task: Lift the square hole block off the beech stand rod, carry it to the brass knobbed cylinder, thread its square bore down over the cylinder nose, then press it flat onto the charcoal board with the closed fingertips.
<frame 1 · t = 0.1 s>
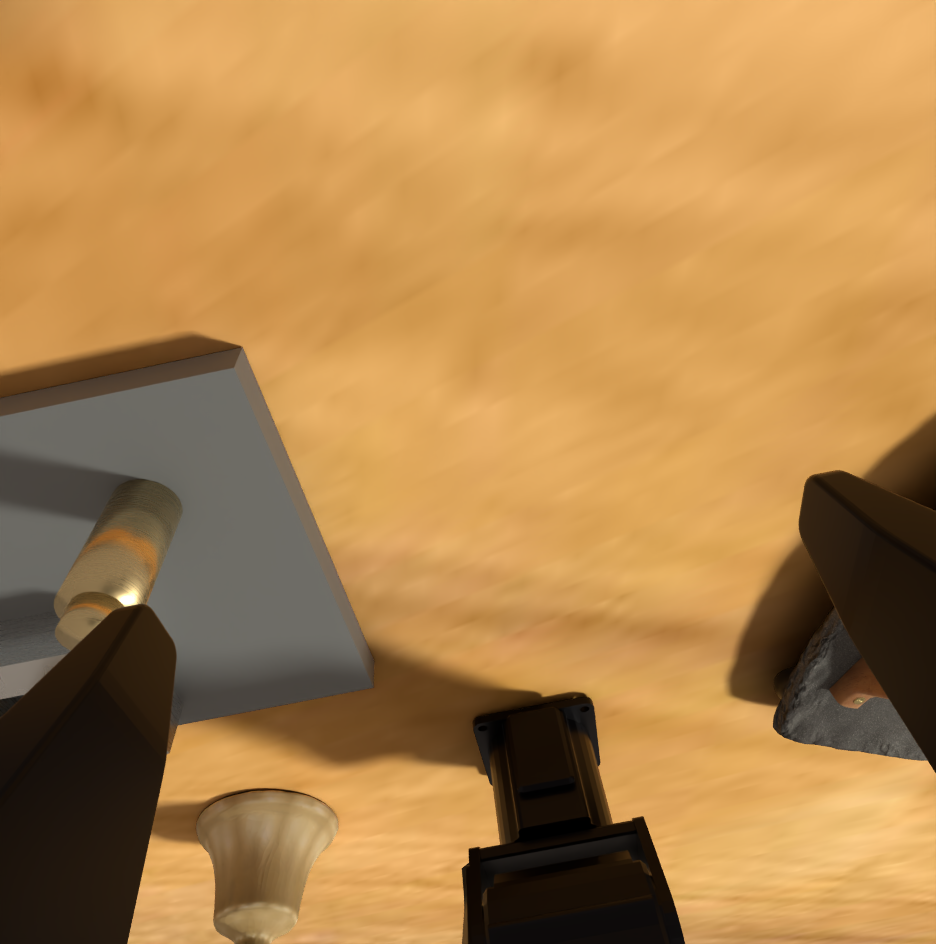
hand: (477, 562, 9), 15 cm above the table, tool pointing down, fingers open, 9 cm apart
square hole block: (70, 670, 29), point 1 cm above the table, touching board
brass knobbed cylinder: (159, 481, 25), resting on board
hand bell: (269, 821, 41), on the table
board: (120, 573, 28), on the table
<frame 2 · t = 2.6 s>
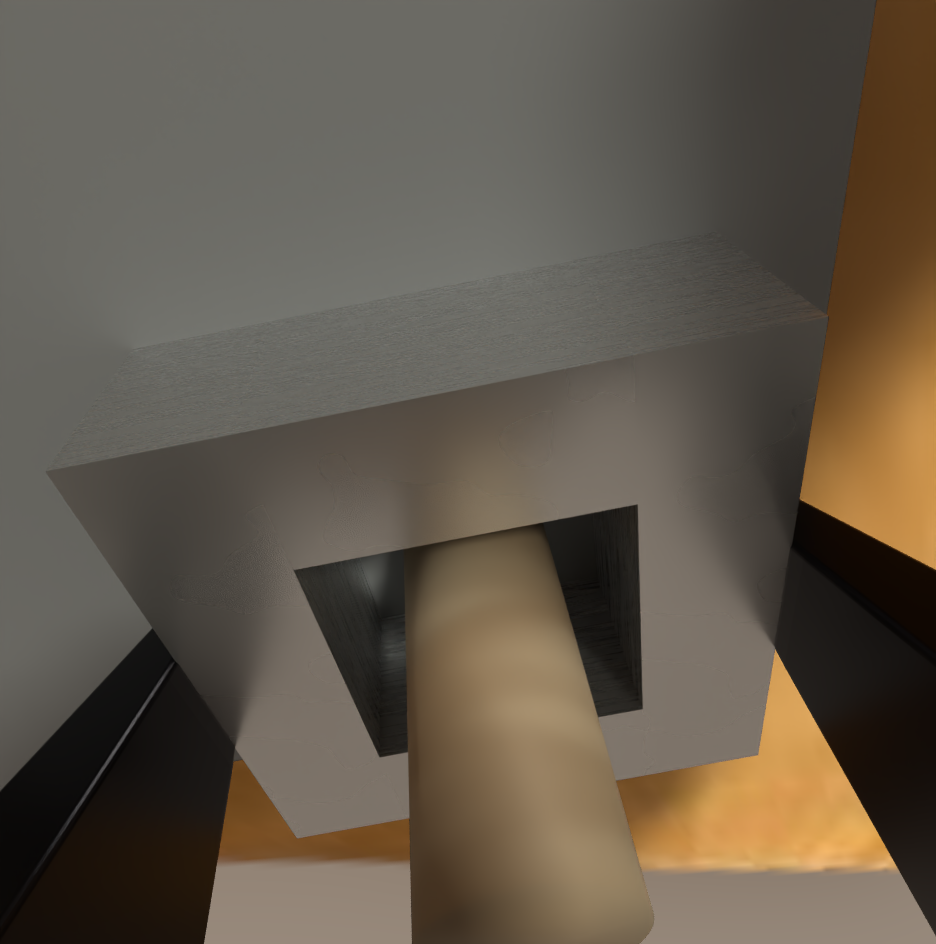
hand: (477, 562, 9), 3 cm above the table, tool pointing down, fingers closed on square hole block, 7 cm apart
square hole block: (470, 514, 10), point 1 cm above the table, touching board, gripper
stand rod: (461, 457, 11), resting on board
board: (167, 301, 9), on the table
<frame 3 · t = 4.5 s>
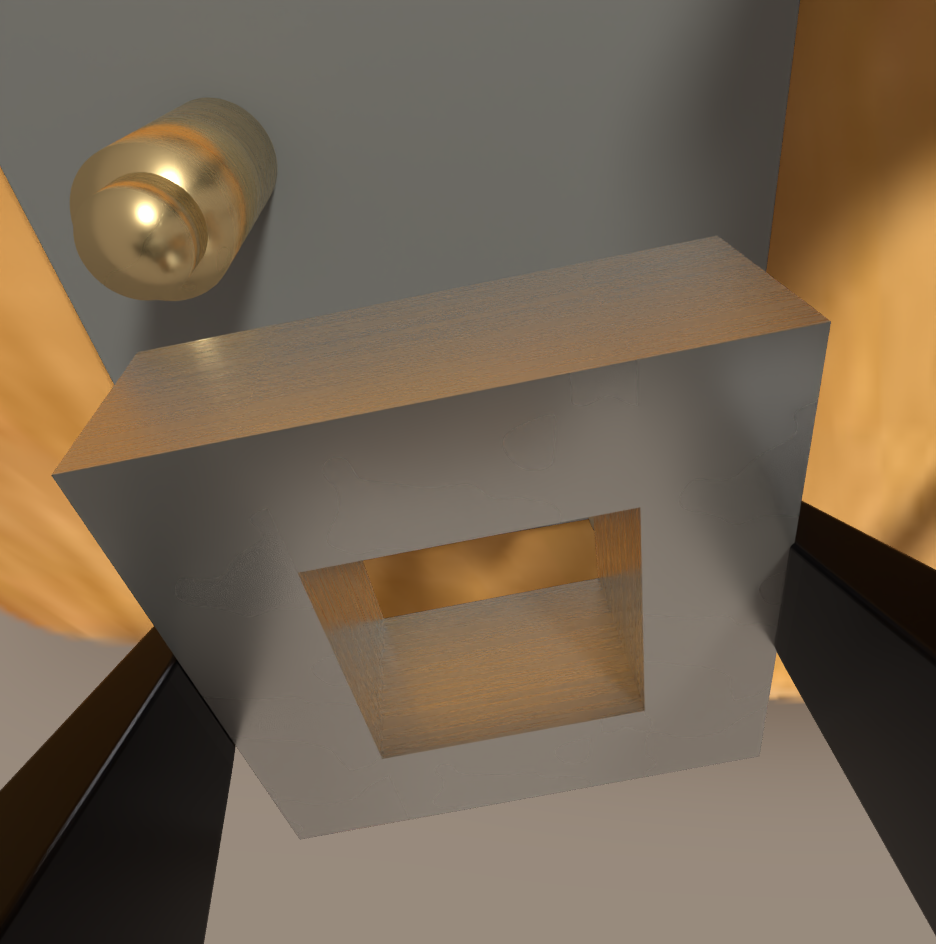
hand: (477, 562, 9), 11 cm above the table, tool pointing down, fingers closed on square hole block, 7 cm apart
square hole block: (472, 516, 10), point 10 cm above the table, touching gripper
brass knobbed cylinder: (233, 147, 16), resting on board
board: (428, 264, 18), on the table
when the fingers open (4 cm above the table, at t = 6.6 s): square hole block drops 2 cm, resting on board.
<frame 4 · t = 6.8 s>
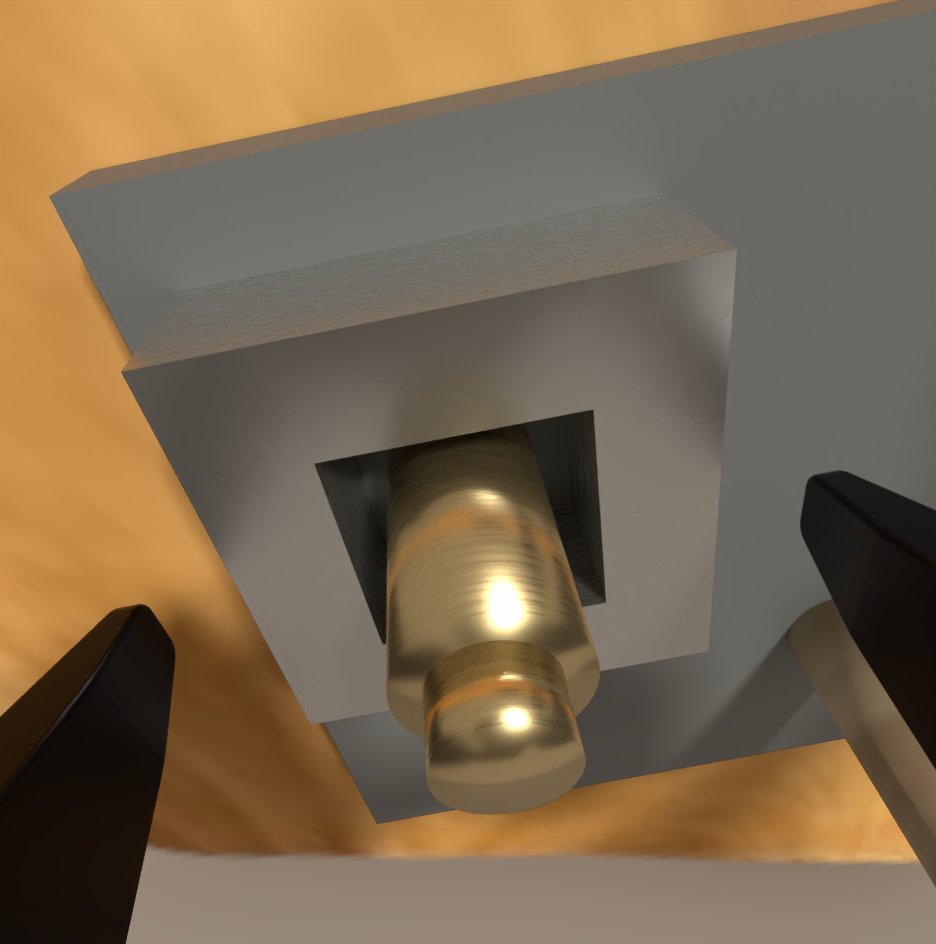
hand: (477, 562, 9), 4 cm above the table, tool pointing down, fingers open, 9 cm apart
square hole block: (460, 444, 12), point 1 cm above the table, touching board
brass knobbed cylinder: (451, 400, 13), resting on board
stand rod: (798, 581, 17), resting on board
board: (659, 500, 15), on the table
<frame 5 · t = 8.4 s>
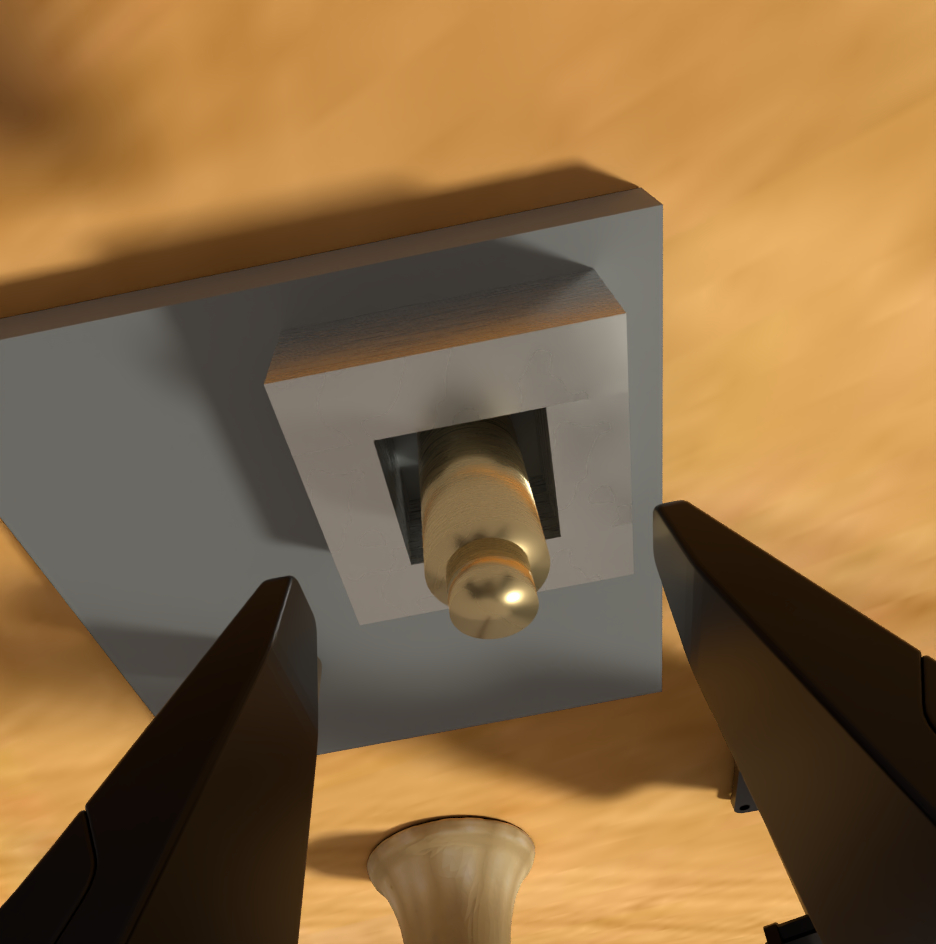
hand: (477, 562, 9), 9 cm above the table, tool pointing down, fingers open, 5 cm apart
square hole block: (463, 431, 17), point 1 cm above the table, touching board
brass knobbed cylinder: (459, 399, 18), resting on board
hand bell: (451, 853, 33), on the table
board: (370, 534, 20), on the table
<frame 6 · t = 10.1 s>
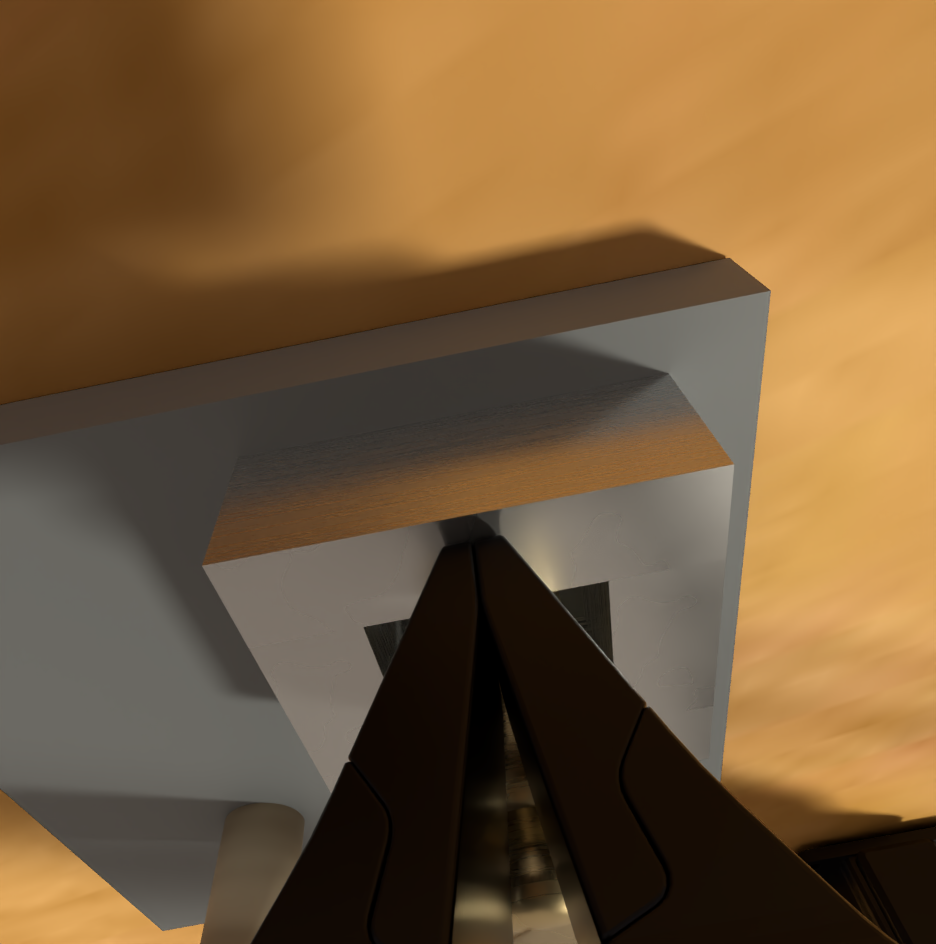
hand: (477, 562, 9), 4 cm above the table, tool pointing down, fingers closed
square hole block: (484, 570, 13), point 1 cm above the table, touching board
brass knobbed cylinder: (477, 517, 14), resting on board
stand rod: (273, 768, 18), resting on board
board: (363, 667, 16), on the table
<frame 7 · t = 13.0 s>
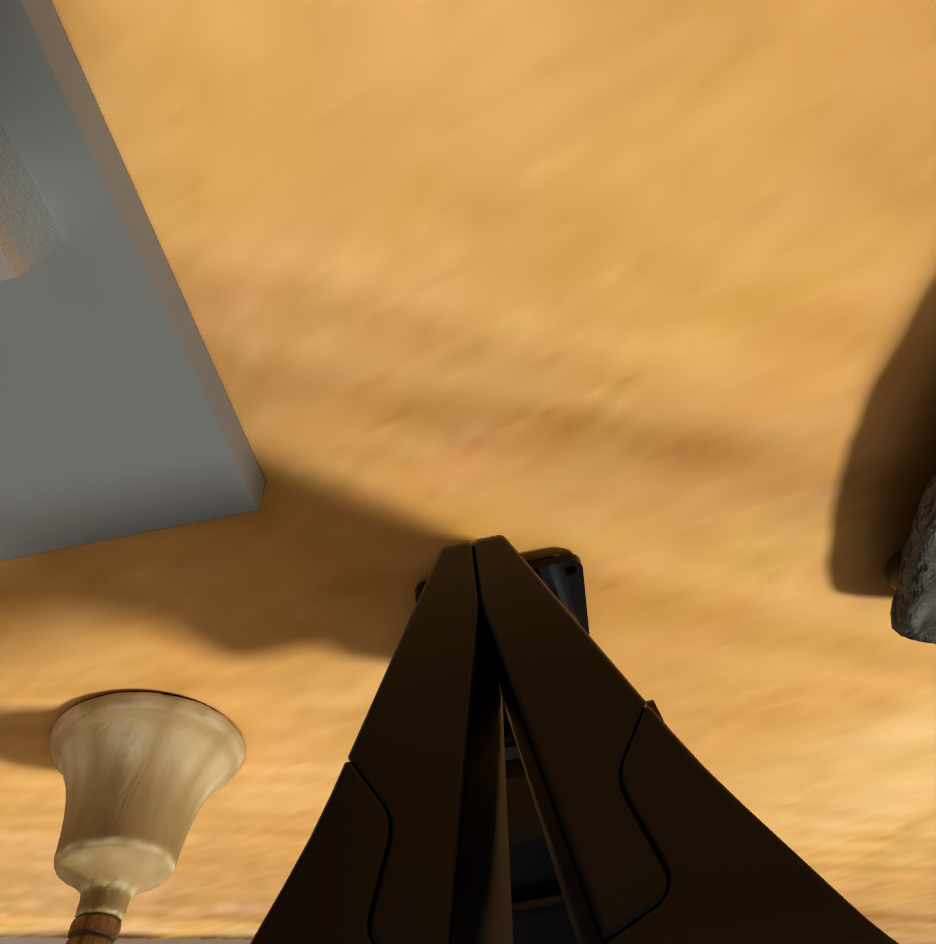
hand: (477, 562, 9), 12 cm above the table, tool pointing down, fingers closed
hand bell: (153, 741, 31), on the table
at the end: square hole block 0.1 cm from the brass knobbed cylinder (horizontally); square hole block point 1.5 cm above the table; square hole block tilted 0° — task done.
